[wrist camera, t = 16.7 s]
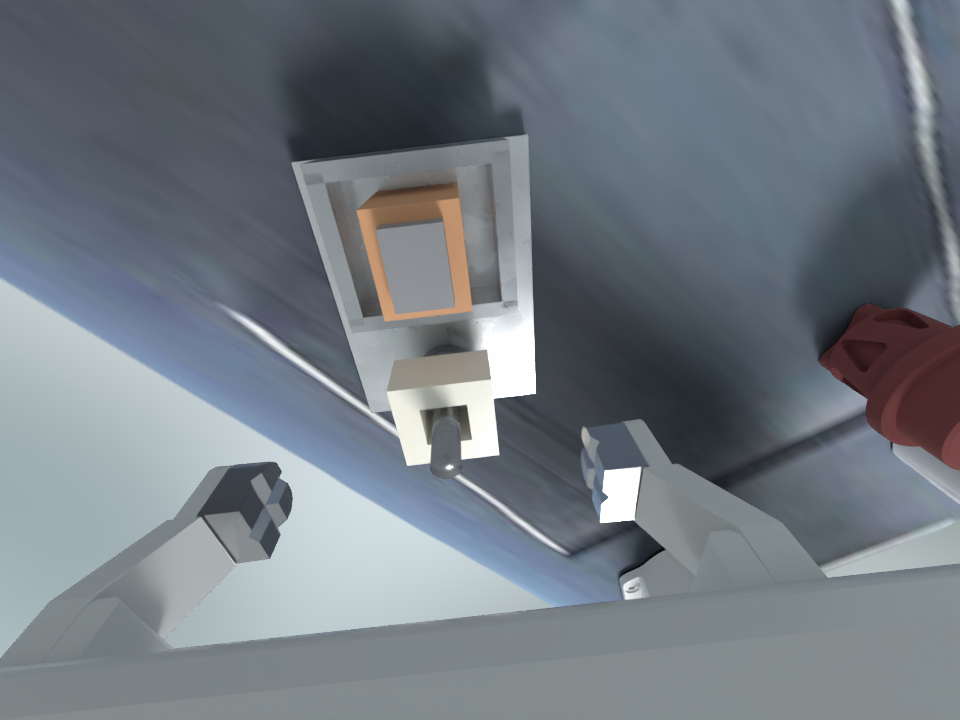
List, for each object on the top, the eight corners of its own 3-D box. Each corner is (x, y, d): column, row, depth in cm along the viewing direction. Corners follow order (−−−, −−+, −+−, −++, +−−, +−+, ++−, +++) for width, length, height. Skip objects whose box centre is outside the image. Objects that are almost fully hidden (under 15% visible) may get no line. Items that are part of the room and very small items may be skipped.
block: (457, 181, 24) (459, 201, 18) (468, 275, 27) (473, 318, 21) (376, 191, 24) (351, 214, 18) (397, 283, 27) (381, 329, 21)
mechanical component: (788, 397, 36) (803, 303, 31) (902, 367, 35) (937, 265, 30) (925, 508, 26) (982, 395, 21) (1093, 471, 25) (1196, 342, 20)
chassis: (533, 385, 34) (566, 493, 24) (373, 403, 34) (341, 520, 24) (524, 134, 24) (577, 142, 14) (298, 160, 24) (188, 188, 14)
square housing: (494, 420, 30) (499, 454, 27) (411, 430, 30) (407, 465, 27) (487, 349, 26) (491, 379, 23) (394, 360, 26) (386, 391, 23)
